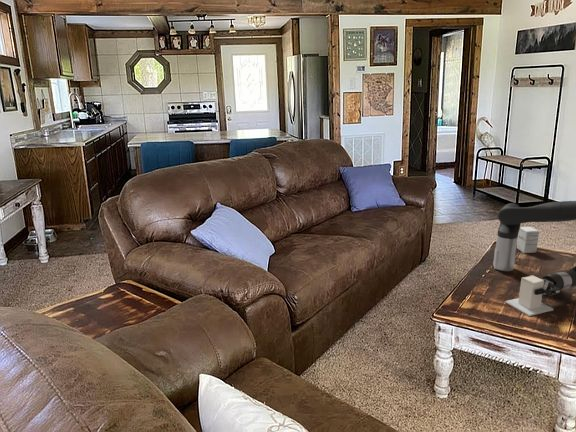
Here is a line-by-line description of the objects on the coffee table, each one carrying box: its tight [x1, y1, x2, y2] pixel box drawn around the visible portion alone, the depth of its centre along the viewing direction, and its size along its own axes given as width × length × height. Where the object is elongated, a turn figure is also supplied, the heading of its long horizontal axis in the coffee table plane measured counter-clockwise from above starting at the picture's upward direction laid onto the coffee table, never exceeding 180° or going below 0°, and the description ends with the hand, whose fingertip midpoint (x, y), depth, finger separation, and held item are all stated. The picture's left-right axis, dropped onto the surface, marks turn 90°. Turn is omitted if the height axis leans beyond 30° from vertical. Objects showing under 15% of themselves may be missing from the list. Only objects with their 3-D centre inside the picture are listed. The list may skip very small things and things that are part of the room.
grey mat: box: [504, 297, 554, 317], centre depth 198 cm, size 13×13×1 cm
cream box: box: [518, 274, 544, 309], centre depth 196 cm, size 6×6×12 cm
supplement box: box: [516, 226, 540, 254], centre depth 255 cm, size 7×7×13 cm
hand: (527, 288), depth 195 cm, fingers open, 7 cm apart
